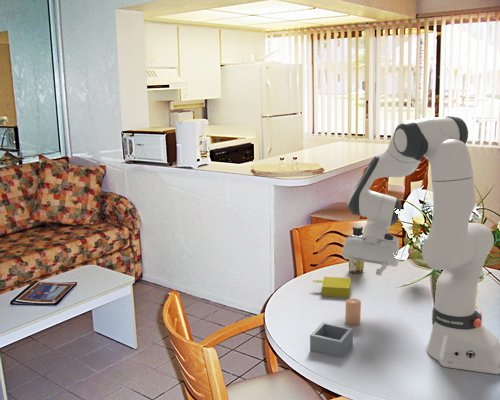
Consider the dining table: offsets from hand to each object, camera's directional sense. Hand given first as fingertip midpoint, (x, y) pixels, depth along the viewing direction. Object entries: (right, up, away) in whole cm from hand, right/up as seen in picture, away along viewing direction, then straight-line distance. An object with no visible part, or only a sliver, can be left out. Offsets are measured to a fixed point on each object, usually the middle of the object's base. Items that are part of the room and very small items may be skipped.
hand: (365, 272), depth 192 cm
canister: (-5, -16, -7) cm, 18 cm away
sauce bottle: (+5, -5, +39) cm, 40 cm away
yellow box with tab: (-9, -10, +20) cm, 24 cm away
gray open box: (-15, -20, -23) cm, 34 cm away
